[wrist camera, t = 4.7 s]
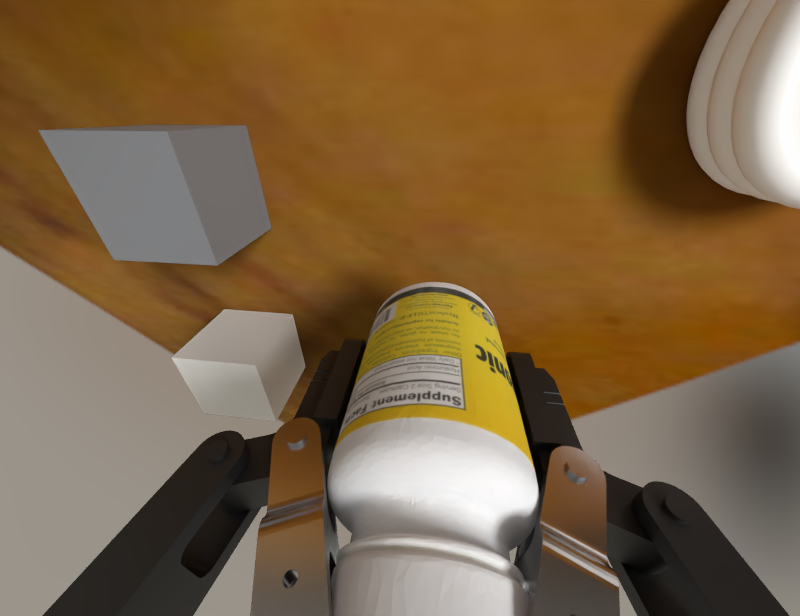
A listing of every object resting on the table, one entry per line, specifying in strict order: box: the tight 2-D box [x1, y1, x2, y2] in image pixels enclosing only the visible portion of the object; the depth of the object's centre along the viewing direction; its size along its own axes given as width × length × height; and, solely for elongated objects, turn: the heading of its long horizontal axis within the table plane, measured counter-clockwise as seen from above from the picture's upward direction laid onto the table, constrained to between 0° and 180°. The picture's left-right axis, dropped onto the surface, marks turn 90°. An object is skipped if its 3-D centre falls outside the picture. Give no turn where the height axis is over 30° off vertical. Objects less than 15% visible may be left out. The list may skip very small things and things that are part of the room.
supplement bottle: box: [327, 282, 540, 616], centre depth 9 cm, size 5×5×10 cm
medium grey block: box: [38, 125, 271, 266], centre depth 14 cm, size 5×5×5 cm
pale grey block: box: [172, 309, 305, 422], centre depth 20 cm, size 5×5×5 cm
